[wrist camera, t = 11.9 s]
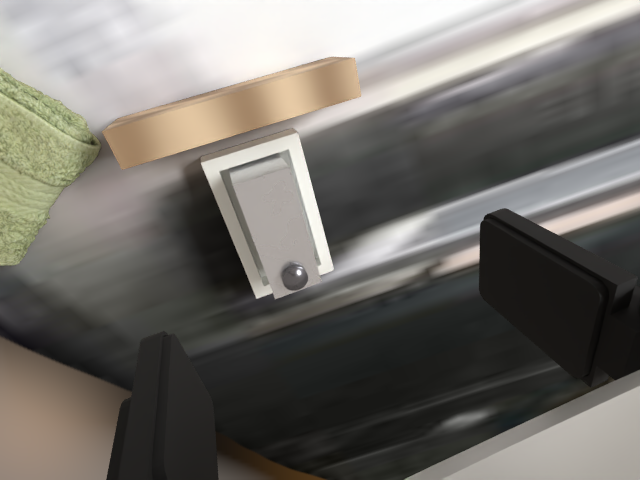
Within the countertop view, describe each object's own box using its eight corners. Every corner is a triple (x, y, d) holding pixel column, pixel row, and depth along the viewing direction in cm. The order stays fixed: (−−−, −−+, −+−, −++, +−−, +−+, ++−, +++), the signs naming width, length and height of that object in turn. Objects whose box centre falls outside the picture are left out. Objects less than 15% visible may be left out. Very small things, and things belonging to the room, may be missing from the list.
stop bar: (276, 150, 30) (291, 169, 25) (306, 253, 35) (323, 285, 30) (227, 165, 29) (233, 188, 24) (265, 268, 34) (276, 303, 29)
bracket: (254, 287, 35) (256, 298, 34) (200, 156, 29) (200, 162, 27) (328, 260, 36) (334, 270, 35) (292, 128, 30) (297, 132, 28)
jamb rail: (134, 151, 27) (122, 169, 23) (117, 118, 26) (101, 131, 22) (337, 89, 29) (361, 96, 25) (331, 56, 28) (354, 57, 24)
